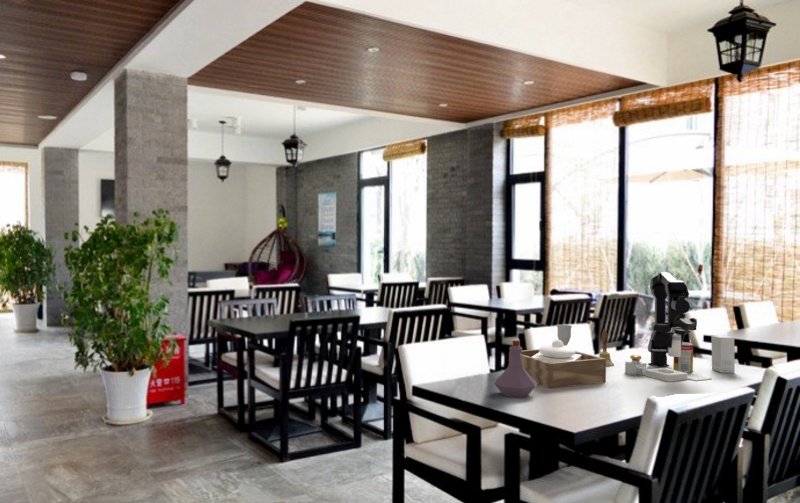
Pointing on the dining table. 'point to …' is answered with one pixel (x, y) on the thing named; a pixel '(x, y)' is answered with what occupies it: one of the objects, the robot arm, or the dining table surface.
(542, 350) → the butter dish
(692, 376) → the mat
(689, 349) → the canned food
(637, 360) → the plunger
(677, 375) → the white flat block
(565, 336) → the chalice
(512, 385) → the flask
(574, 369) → the wooden tray box
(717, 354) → the skincare box
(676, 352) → the white cylinder
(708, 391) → the dining table surface
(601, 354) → the hand bell
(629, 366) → the plunger block
